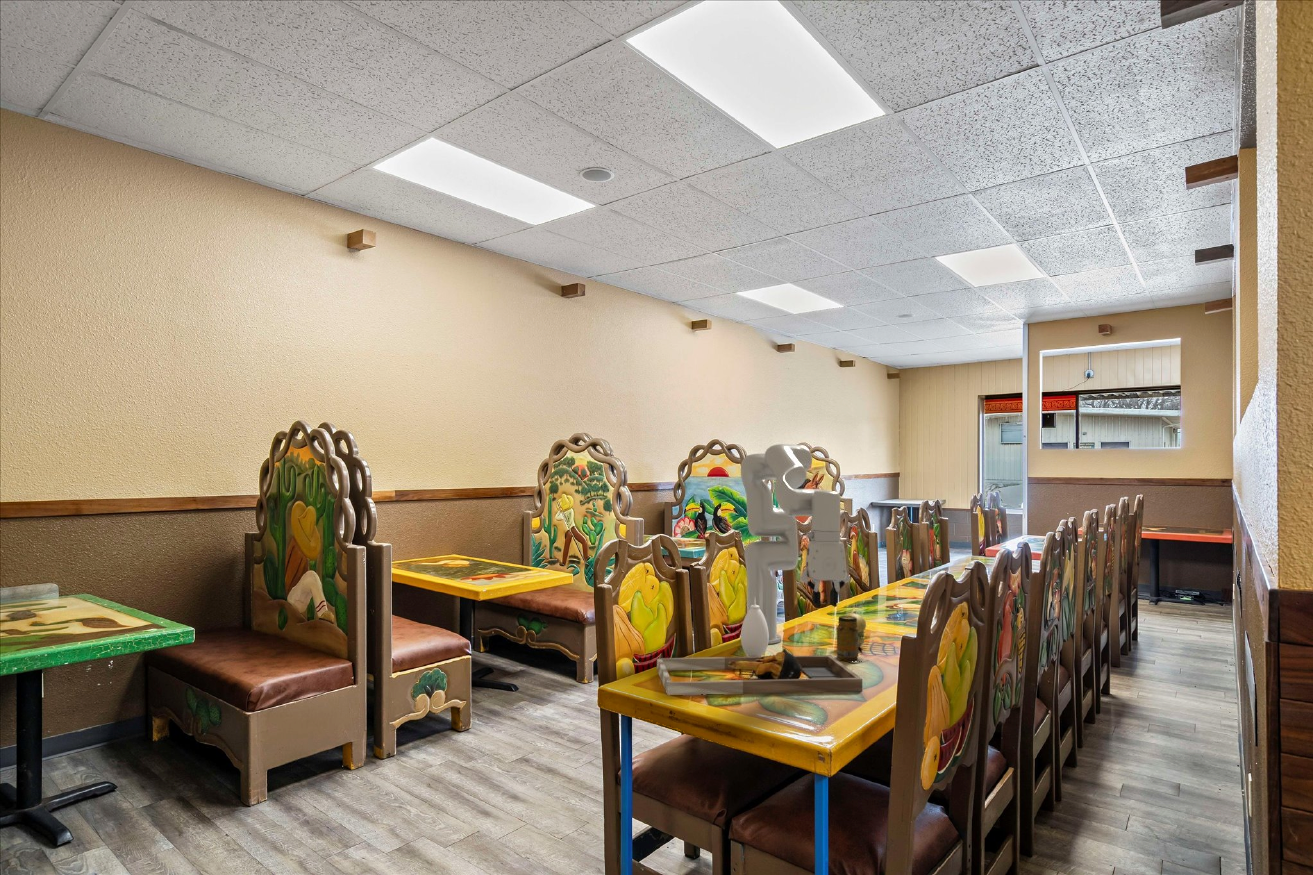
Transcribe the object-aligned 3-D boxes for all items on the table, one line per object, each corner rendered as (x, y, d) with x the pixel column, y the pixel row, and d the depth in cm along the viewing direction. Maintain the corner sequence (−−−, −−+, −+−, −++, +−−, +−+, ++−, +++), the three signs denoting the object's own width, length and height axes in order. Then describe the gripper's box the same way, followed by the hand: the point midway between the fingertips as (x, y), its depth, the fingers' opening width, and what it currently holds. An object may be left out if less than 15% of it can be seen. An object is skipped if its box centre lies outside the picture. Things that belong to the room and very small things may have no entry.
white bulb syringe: (755, 663, 204) (756, 600, 205) (735, 658, 210) (736, 596, 211) (773, 659, 209) (774, 597, 210) (753, 653, 215) (753, 593, 216)
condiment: (845, 653, 216) (845, 613, 217) (869, 660, 210) (869, 618, 210) (830, 657, 212) (830, 616, 212) (854, 664, 205) (854, 622, 206)
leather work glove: (806, 671, 182) (738, 645, 183) (791, 703, 186) (725, 678, 187) (806, 649, 190) (741, 625, 192) (792, 680, 194) (729, 656, 196)
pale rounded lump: (859, 644, 228) (859, 606, 228) (870, 650, 220) (870, 611, 221) (836, 645, 226) (837, 606, 227) (846, 651, 219) (846, 611, 220)
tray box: (656, 669, 197) (657, 658, 197) (830, 665, 203) (830, 655, 203) (667, 695, 175) (667, 683, 175) (862, 691, 181) (862, 678, 181)
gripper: (799, 538, 188) (799, 609, 187) (861, 538, 190) (860, 608, 189) (791, 535, 195) (790, 603, 195) (850, 535, 197) (849, 602, 197)
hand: (825, 605), depth 192 cm, fingers open, 3 cm apart
